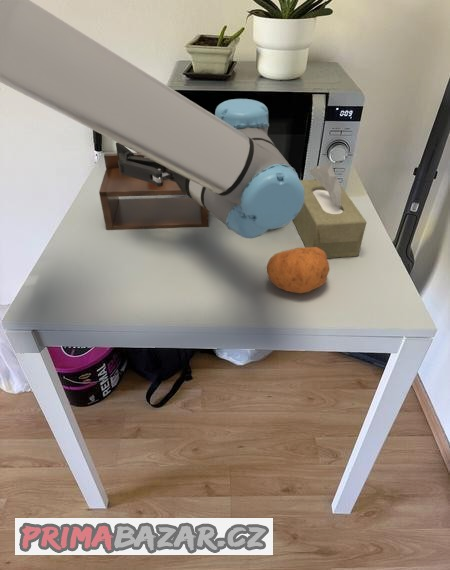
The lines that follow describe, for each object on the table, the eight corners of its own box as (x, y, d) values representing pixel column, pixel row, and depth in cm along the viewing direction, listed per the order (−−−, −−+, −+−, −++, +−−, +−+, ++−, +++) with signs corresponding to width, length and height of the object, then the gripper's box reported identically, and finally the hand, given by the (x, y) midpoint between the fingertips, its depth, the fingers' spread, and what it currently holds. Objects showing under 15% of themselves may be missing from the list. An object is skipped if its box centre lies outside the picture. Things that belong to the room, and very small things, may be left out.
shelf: (106, 229, 95) (96, 178, 87) (112, 202, 104) (104, 153, 96) (208, 226, 96) (207, 175, 88) (206, 199, 105) (205, 151, 98)
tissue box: (288, 212, 101) (296, 145, 91) (329, 209, 102) (341, 143, 92) (311, 260, 87) (323, 187, 77) (359, 257, 88) (377, 184, 78)
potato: (330, 303, 77) (337, 269, 73) (266, 301, 78) (269, 267, 73) (322, 270, 84) (328, 238, 80) (263, 269, 85) (266, 236, 80)
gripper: (142, 221, 73) (94, 173, 87) (260, 183, 84) (201, 146, 98) (137, 179, 69) (87, 136, 82) (263, 145, 80) (200, 111, 93)
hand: (149, 141), depth 90 cm, fingers open, 13 cm apart
